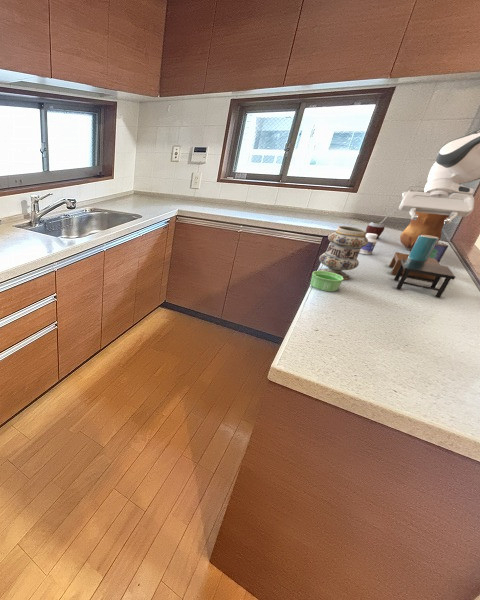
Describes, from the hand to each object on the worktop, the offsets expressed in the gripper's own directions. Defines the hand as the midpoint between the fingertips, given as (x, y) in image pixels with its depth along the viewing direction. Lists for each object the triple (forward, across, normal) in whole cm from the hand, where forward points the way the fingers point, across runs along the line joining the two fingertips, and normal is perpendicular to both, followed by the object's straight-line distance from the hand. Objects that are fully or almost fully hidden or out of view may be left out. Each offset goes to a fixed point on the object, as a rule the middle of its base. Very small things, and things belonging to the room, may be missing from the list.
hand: (430, 221), depth 126 cm
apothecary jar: (+36, -24, -9) cm, 45 cm away
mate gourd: (-21, -10, +48) cm, 53 cm away
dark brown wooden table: (+33, 0, -6) cm, 34 cm away
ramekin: (+48, -26, -21) cm, 59 cm away
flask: (+6, +6, +21) cm, 23 cm away
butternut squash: (-10, +5, +37) cm, 38 cm away
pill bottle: (+5, -14, +22) cm, 27 cm away
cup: (+16, 0, +2) cm, 17 cm away
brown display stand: (+21, 0, +6) cm, 22 cm away
